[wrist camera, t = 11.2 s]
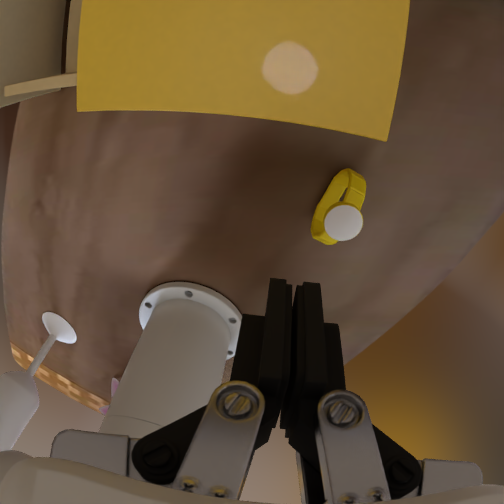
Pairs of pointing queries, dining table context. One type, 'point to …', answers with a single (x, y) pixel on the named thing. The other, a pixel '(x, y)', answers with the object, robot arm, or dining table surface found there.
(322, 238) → the watch
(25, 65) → the drawer
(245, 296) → the dining table surface
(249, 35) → the cabinet
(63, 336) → the champagne flute
